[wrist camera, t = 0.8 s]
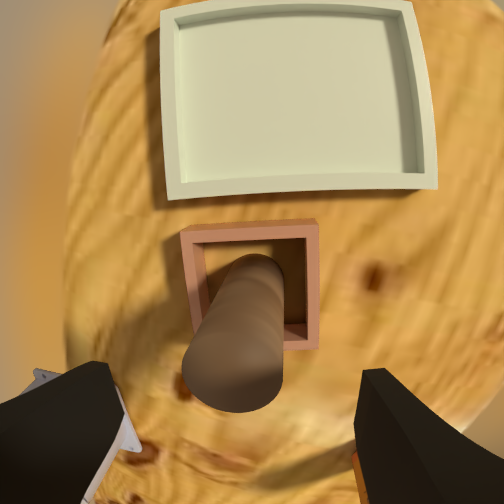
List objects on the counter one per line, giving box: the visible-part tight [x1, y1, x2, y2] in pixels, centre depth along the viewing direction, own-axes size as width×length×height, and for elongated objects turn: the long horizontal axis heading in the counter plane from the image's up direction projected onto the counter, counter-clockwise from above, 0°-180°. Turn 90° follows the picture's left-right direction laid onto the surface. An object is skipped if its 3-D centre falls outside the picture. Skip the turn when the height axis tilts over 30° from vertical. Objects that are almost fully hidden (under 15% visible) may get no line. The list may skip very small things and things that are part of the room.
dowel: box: [182, 254, 284, 413], centre depth 14 cm, size 3×3×9 cm
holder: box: [180, 218, 320, 351], centre depth 17 cm, size 7×7×2 cm
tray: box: [160, 0, 438, 200], centre depth 14 cm, size 14×11×2 cm
